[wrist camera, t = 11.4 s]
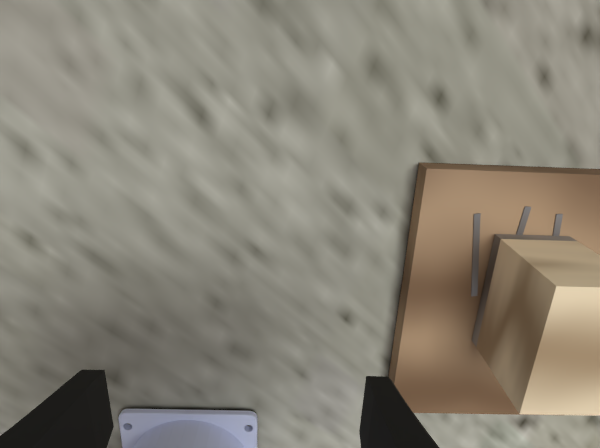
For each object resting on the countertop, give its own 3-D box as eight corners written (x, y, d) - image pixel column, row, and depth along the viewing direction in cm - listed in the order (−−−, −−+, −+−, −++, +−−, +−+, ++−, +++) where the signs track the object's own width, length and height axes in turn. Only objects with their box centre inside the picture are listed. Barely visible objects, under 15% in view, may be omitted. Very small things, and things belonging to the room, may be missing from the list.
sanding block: (539, 341, 22) (604, 415, 18) (471, 340, 22) (519, 414, 18) (569, 236, 20) (652, 288, 16) (495, 233, 20) (556, 286, 15)
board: (551, 399, 25) (564, 416, 24) (385, 396, 25) (390, 413, 24) (625, 170, 20) (645, 176, 19) (419, 162, 20) (427, 168, 19)
